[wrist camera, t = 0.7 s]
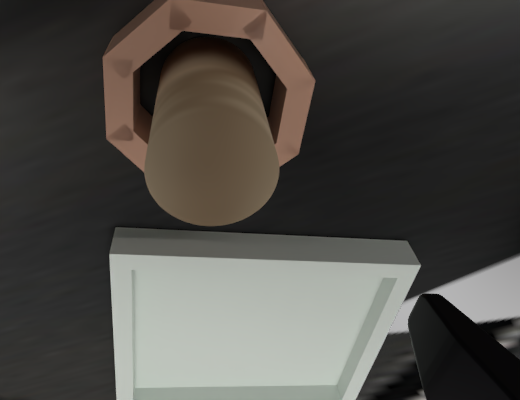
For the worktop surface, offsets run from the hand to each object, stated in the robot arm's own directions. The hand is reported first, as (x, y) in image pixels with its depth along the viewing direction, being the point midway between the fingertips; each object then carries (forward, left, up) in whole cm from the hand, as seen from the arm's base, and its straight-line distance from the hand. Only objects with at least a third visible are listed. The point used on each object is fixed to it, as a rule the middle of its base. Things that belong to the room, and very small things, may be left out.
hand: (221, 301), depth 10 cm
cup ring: (0, 0, -12) cm, 12 cm away
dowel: (0, 0, -12) cm, 12 cm away
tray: (-4, +15, -12) cm, 19 cm away
